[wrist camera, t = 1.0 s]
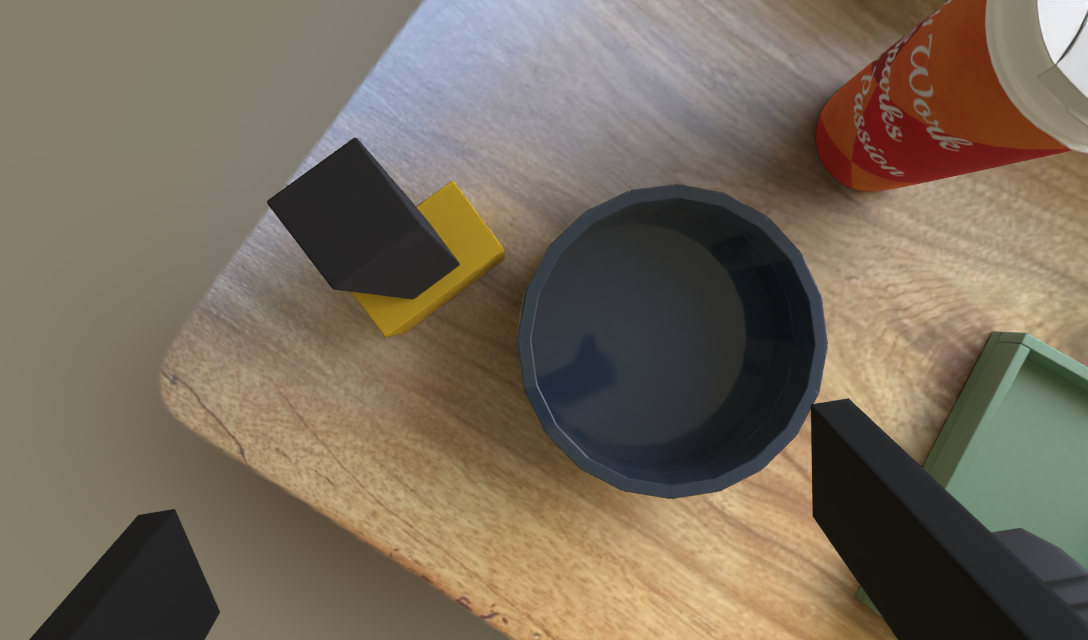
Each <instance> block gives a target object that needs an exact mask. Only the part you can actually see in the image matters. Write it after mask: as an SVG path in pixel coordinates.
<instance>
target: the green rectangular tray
mask: <svg viewBox="0 0 1088 640" xmlns="http://www.w3.org/2000/svg"><path fill="white" fill-rule="evenodd" d="M922 468H923V469H924V470H925V471H926V472H927V473H929V474H930V475H931V476H932V477H933V478H934V479H935V480H936V481H937V482H938V483H939V484H940V485H941V486H942V487H943V488H945V489H946V490H947V491H948V492H949V493H950V494H951V495H952V496H953V497H954V498H955V499H956V500H957V501H958V502H959V503H961V504H962V505H963V506H964V507H965V508H966V509H967V510H968V511H969V512H970V513H971V514H972V515H973V516H974V517H975V518H976V519H978V520H979V521H980V522H981V523H982V524H983V525H984V526H985V527H986V528H987V529H988V530H989V531H990V532H997V531H1003V530H1009V529H1016V528H1022V529H1024V530H1026V531H1028V532H1030V533H1032V534H1034V535H1036V536H1038V537H1040V538H1042V539H1044V540H1046V541H1048V542H1050V543H1052V544H1054V545H1056V546H1058V547H1060V548H1061V549H1062V550H1063V551H1065V552H1066V553H1067V554H1068V555H1069V556H1071V557H1072V558H1073V559H1074V560H1075V561H1076V562H1078V563H1079V564H1080V565H1081V566H1082V567H1084V568H1085V569H1086V570H1087V571H1088V367H1086V366H1084V365H1083V364H1081V363H1079V362H1077V361H1075V360H1074V359H1072V358H1070V357H1068V356H1067V355H1065V354H1063V353H1061V352H1059V351H1058V350H1056V349H1054V348H1052V347H1051V346H1049V345H1047V344H1045V343H1043V342H1042V341H1040V340H1038V339H1036V338H1035V337H1033V336H1031V335H1029V334H1028V333H1018V332H998V331H993V333H992V335H991V337H990V339H989V341H988V342H987V344H986V346H985V348H984V350H983V352H982V354H981V356H980V358H979V360H978V362H977V364H976V365H975V367H974V369H973V371H972V373H971V375H970V377H969V379H968V381H967V383H966V385H965V387H964V388H963V390H962V392H961V394H960V396H959V398H958V400H957V402H956V404H955V406H954V408H953V410H952V411H951V413H950V415H949V417H948V419H947V421H946V423H945V425H944V427H943V429H942V431H941V433H940V434H939V436H938V438H937V440H936V442H935V444H934V446H933V448H932V450H931V452H930V454H929V456H928V457H927V459H926V461H925V463H924V465H923V467H922ZM856 597H857V598H858V599H859V600H860V601H862V602H863V603H864V604H866V605H867V606H868V607H869V608H870V609H872V610H873V611H874V612H875V613H877V614H878V615H879V616H881V614H880V613H879V611H878V610H877V609H876V607H875V606H874V604H873V603H872V601H871V600H870V598H869V597H868V596H867V594H866V593H865V591H864V590H863V588H862V587H861V586H860V588H859V590H858V592H857V594H856ZM881 617H882V616H881Z"/></svg>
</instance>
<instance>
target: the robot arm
mask: <svg viewBox="0 0 1088 640" xmlns="http://www.w3.org/2000/svg"><path fill="white" fill-rule="evenodd" d="M811 444H812V502H813V517H814V519H815V520H816V522H817V523H818V525H819V526H820V528H821V529H822V530H823V532H824V533H825V535H826V536H827V538H828V539H829V541H830V542H831V543H832V545H833V546H834V548H835V549H836V551H837V552H838V554H839V555H840V557H841V558H842V559H843V561H844V562H845V564H846V565H847V567H848V568H849V570H850V571H851V572H852V574H853V575H854V577H855V578H856V580H857V581H858V583H859V584H860V585H861V587H862V588H863V590H864V591H865V593H866V594H867V596H868V597H869V598H870V600H871V601H872V603H873V604H874V606H875V607H876V609H877V610H878V611H879V613H880V614H881V616H882V617H883V619H884V620H885V622H886V623H887V625H888V626H889V627H890V629H891V630H892V632H893V633H894V635H895V636H896V638H897V639H898V640H1088V571H1087V570H1086V569H1085V568H1084V567H1082V566H1081V565H1080V564H1079V563H1078V562H1076V561H1075V560H1074V559H1073V558H1072V557H1071V556H1069V555H1068V554H1067V553H1066V552H1065V551H1063V550H1062V549H1061V548H1060V547H1058V546H1056V545H1054V544H1052V543H1050V542H1048V541H1046V540H1044V539H1042V538H1040V537H1038V536H1036V535H1034V534H1032V533H1030V532H1028V531H1026V530H1024V529H1022V528H1016V529H1009V530H1003V531H997V532H990V531H989V530H988V529H987V528H986V527H985V526H984V525H983V524H982V523H981V522H980V521H979V520H978V519H976V518H975V517H974V516H973V515H972V514H971V513H970V512H969V511H968V510H967V509H966V508H965V507H964V506H963V505H962V504H961V503H959V502H958V501H957V500H956V499H955V498H954V497H953V496H952V495H951V494H950V493H949V492H948V491H947V490H946V489H945V488H943V487H942V486H941V485H940V484H939V483H938V482H937V481H936V480H935V479H934V478H933V477H932V476H931V475H930V474H929V473H927V472H926V471H925V470H924V469H923V468H922V467H921V466H920V465H919V464H918V463H917V462H916V461H915V460H914V459H913V458H912V457H910V456H909V455H908V454H907V453H906V452H905V451H904V450H903V449H902V448H901V447H900V446H899V445H898V444H897V443H896V442H894V441H893V440H892V439H891V438H890V437H889V436H888V435H887V434H886V433H885V432H884V431H883V430H882V429H881V428H880V427H878V426H877V425H876V424H875V423H874V422H873V421H872V420H871V419H870V418H869V417H868V416H867V415H866V414H865V413H864V412H862V411H861V410H860V409H859V408H858V407H857V406H856V405H855V404H854V403H853V402H852V401H851V400H850V399H849V398H848V399H842V400H836V401H830V402H824V403H818V404H812V405H811ZM219 613H220V611H219V609H218V606H217V604H216V602H215V600H214V597H213V595H212V593H211V591H210V588H209V586H208V584H207V581H206V579H205V577H204V575H203V572H202V570H201V568H200V566H199V563H198V561H197V558H196V557H195V554H194V552H193V549H192V547H191V545H190V543H189V540H188V538H187V536H186V534H185V531H184V529H183V527H182V524H181V522H180V520H179V518H178V515H177V513H176V511H175V509H172V510H166V511H161V512H154V513H148V514H143V515H138V516H137V517H136V518H135V520H134V521H133V522H132V523H131V524H130V525H129V526H128V527H127V529H126V530H125V531H124V532H123V533H122V534H121V536H120V537H119V538H118V539H117V540H116V541H115V542H114V543H113V545H112V546H111V547H110V548H109V549H108V550H107V551H106V553H105V554H104V555H103V556H102V557H101V558H100V559H99V561H98V562H97V563H96V564H95V565H94V566H93V568H92V569H91V570H90V571H89V572H88V573H87V574H86V575H85V577H84V578H83V579H82V580H81V581H80V582H79V583H78V585H77V586H76V587H75V588H74V589H73V590H72V591H71V593H70V594H69V595H68V596H67V597H66V598H65V599H64V601H63V602H62V603H61V604H60V605H59V606H58V607H57V609H56V610H55V611H54V612H53V613H52V614H51V616H50V617H49V618H48V619H47V620H46V621H45V622H44V623H43V625H42V626H41V627H40V628H39V629H38V630H37V631H36V633H35V634H34V635H33V636H32V637H31V638H30V639H29V640H205V638H206V636H207V635H208V633H209V631H210V629H211V627H212V626H213V624H214V622H215V620H216V618H217V617H218V615H219Z"/></svg>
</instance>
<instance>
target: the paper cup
mask: <svg viewBox="0 0 1088 640" xmlns="http://www.w3.org/2000/svg"><path fill="white" fill-rule="evenodd" d="M816 144H817V149H818V153H819V156H820V159H821V161H822V163H823V164H824V166H825V168H826V169H827V170H828V172H829V173H830V174H831V175H832V176H833V177H834V178H835V179H836V180H837V181H839V182H840V183H842V184H843V185H845V186H847V187H849V188H852V189H855V190H860V191H882V190H889V189H894V188H900V187H905V186H910V185H915V184H920V183H924V182H929V181H934V180H939V179H943V178H948V177H953V176H957V175H962V174H967V173H971V172H976V171H980V170H985V169H990V168H994V167H999V166H1003V165H1008V164H1012V163H1017V162H1021V161H1026V160H1031V159H1035V158H1040V157H1044V156H1049V155H1053V154H1058V153H1063V152H1067V151H1072V150H1074V151H1078V152H1082V153H1087V154H1088V0H949V1H948V2H946V3H945V4H944V5H942V6H941V7H940V8H939V9H937V10H936V11H935V12H934V13H932V14H931V15H930V16H929V17H927V18H926V19H925V20H924V21H922V22H921V23H920V24H919V25H917V26H916V27H915V28H914V29H912V30H911V31H910V32H909V33H908V34H906V35H905V36H904V37H903V38H901V39H900V40H899V41H898V42H896V43H895V44H894V45H893V46H891V47H890V48H889V49H888V50H886V51H885V52H884V53H883V54H881V55H880V56H879V57H878V58H877V59H875V60H874V61H873V62H872V63H870V64H869V65H868V66H867V67H866V68H864V69H863V70H862V71H861V72H859V73H858V74H857V75H856V76H855V77H853V78H852V79H851V80H850V81H849V82H847V83H846V84H845V85H844V86H843V87H842V88H840V89H839V90H838V91H837V92H836V93H835V94H834V95H833V96H832V97H831V98H830V100H829V101H828V102H827V104H826V105H825V106H824V108H823V110H822V112H821V114H820V116H819V119H818V123H817V128H816Z"/></svg>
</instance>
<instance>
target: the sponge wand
mask: <svg viewBox="0 0 1088 640" xmlns="http://www.w3.org/2000/svg"><path fill="white" fill-rule="evenodd" d="M267 203H268V205H269V206H270V208H271V209H272V210H273V212H274V213H275V214H276V216H277V217H278V218H279V220H280V221H281V222H282V223H283V225H284V226H285V227H286V229H287V230H288V231H289V233H290V234H291V235H292V237H293V238H294V239H295V240H296V242H297V243H298V244H299V246H300V247H301V248H302V250H303V251H304V252H305V254H306V255H307V256H308V257H309V259H310V260H311V261H312V263H313V264H314V265H315V267H316V268H317V269H318V271H319V272H320V273H321V274H322V276H323V277H324V278H325V280H326V281H327V282H328V284H329V285H330V286H331V288H332V289H334V290H341V291H349V292H351V293H352V294H353V296H354V297H355V298H356V300H357V301H358V302H359V303H360V305H361V306H362V307H363V309H364V310H365V311H366V313H367V314H368V315H369V317H370V318H371V319H372V320H373V322H374V323H375V324H376V326H377V327H378V328H379V330H380V331H381V332H382V334H383V335H384V336H385V337H389V336H393V335H398V334H403V333H406V332H407V331H409V330H410V329H411V328H413V327H414V326H415V325H417V324H418V323H420V322H421V321H422V320H424V319H425V318H426V317H428V316H429V315H430V314H432V313H433V312H434V311H436V310H437V309H438V308H440V307H441V306H442V305H444V304H445V303H446V302H448V301H449V300H450V299H452V298H453V297H455V296H456V295H457V294H459V293H460V292H461V291H463V290H464V289H465V288H467V287H468V286H469V285H471V284H472V283H473V282H475V281H476V280H477V279H479V278H480V277H481V276H483V275H484V274H485V273H487V272H488V271H489V270H491V269H492V268H494V267H495V266H496V265H498V264H499V263H500V262H502V261H503V260H504V248H503V247H502V245H501V244H500V243H499V241H498V240H497V239H496V237H495V236H494V235H493V233H492V232H491V231H490V229H489V228H488V227H487V225H486V224H485V223H484V221H483V220H482V219H481V217H480V216H479V215H478V213H477V212H476V210H475V209H474V208H473V206H472V205H471V204H470V202H469V201H468V200H467V198H466V197H465V196H464V194H463V193H462V192H461V190H460V189H459V188H458V186H457V185H456V184H455V182H454V181H451V182H449V183H448V184H447V185H445V186H444V187H442V188H441V189H440V190H438V191H437V192H436V193H434V194H433V195H432V196H430V197H429V198H428V199H426V200H425V201H423V202H422V203H421V204H419V205H418V206H417V207H416V206H415V205H414V204H413V203H412V201H411V200H410V199H409V198H408V197H407V196H406V194H405V193H404V192H403V191H402V190H401V189H400V187H399V186H398V185H397V184H396V183H395V182H394V180H393V179H392V178H391V177H390V176H389V175H388V173H387V172H386V171H385V170H384V169H383V168H382V166H381V165H380V164H379V163H378V162H377V161H376V159H375V158H374V157H373V156H372V155H371V154H370V152H369V151H368V150H367V149H366V148H365V147H364V146H363V144H362V143H361V142H360V141H359V140H358V139H357V138H353V139H352V140H350V141H349V142H348V143H346V144H345V145H343V146H342V147H341V148H339V149H338V150H337V151H335V152H334V153H332V154H331V155H330V156H328V157H327V158H326V159H324V160H323V161H321V162H320V163H319V164H317V165H316V166H314V167H313V168H312V169H310V170H309V171H308V172H306V173H305V174H303V175H302V176H301V177H299V178H298V179H297V180H295V181H294V182H292V183H291V184H290V185H288V186H287V187H286V188H284V189H283V190H281V191H280V192H279V193H277V194H276V195H275V196H273V197H272V198H270V199H269V200H268V201H267Z"/></svg>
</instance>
